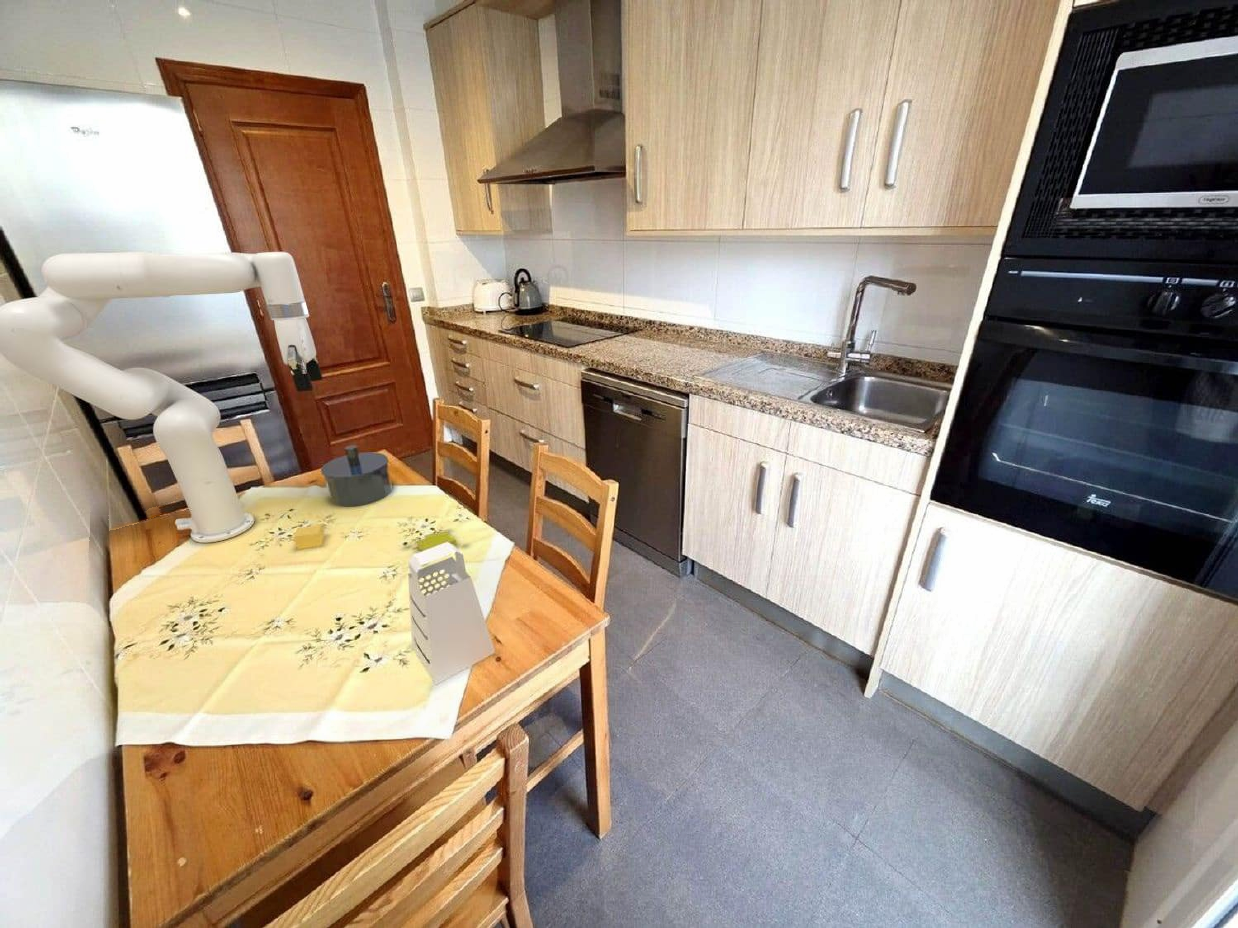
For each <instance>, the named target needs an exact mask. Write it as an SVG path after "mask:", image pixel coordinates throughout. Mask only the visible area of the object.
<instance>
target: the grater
mask: <svg viewBox="0 0 1238 928" xmlns="http://www.w3.org/2000/svg"><path fill="white" fill-rule="evenodd" d="M452 554H454V556H455V558H454V557H453V556H450V555H452ZM447 556H450V557H447ZM444 557H447V558H445V559H443V560H439V559H441V558H444ZM437 560H439V561H438V562H435V563H433V564H430V565H428V566H425V567H423V568H422V566H423V565H426V564H429V563H431V562H434V561H437ZM408 567H409V571H410V572H409V573H408V574H407V579H408V594H409V595H408V596H409V597H408V598H409V612H410V614H409V615H410V631H411V633H410V634H411V648H412V650H413V651H414V653H415V655H416V656H417V658H418V660H419V661H420V662H421V664H422V666H423V667H424V669H425V670H426V672H427V674H428V675H429V677H430V678H431V680H432V681H433V683H434V685H435V686H436V685H439V684H440V683H442V682H444V681H447V680H448V679H450V678H451V677H453V676H455V675H457V674H459V673H461V672H463V671H464V670H466V669H468V668H470V667H472V666H474V665H475V664H477V663H479V662H481V661H483V660H485V659H487V658H489V657H490V656H492V655H494V654H496V650H495V647H494V644H493V641H492V637H491V634H490V631H489V628H488V625H487V623H486V619H485V616H484V613H483V610H482V608H481V607H482V606H481V604H480V601H479V597H478V594H477V591H476V588H475V585H474V583H473V582H474V581H473V578H472V576H471V575H469V573H468V572H467V570H466V566H465V557H464V553H462V552H461V551H460V550H459V549H458V548H457V546H454V545H452V544H451V543H449V542H446V543H443V544H440V545H438V546H435V547H432V548H430V549H427V550H424V551H422V552H421V551H419V552H417V553H414V554H412V556H411V557H410V559H409V560H408ZM442 570H443V573H441V571H442ZM435 573H437V575H435V576H434V574H435ZM446 575H448V576H447V577H445V576H446ZM428 576H430V578H429V579H427V577H428ZM441 577H442V579H441V580H439V578H441ZM421 579H423V580H422V581H420V580H421ZM433 580H435V582H434V583H432V581H433ZM443 582H445V583H444V584H442V583H443ZM426 583H428V585H427V586H425V584H426ZM436 585H439V586H438V587H436ZM430 587H431V588H432V589H431V590H429V588H430ZM423 590H426V591H425V592H424V593H423V592H422V591H423ZM427 660H429V661H427Z"/></svg>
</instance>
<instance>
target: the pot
mask: <svg viewBox="0 0 1238 928" xmlns="http://www.w3.org/2000/svg"><path fill="white" fill-rule="evenodd" d="M389 468H390V467H389V465H388V463H387V464H386V466H384V467H383V468H382V469H380V470H378V471H376V472H373V473H371V474H368V475H364V476H360V477H355V478H348V479H333V478H327V477H325V476H323V478H324V482H325V486H326V488H327V493H328V496H329V500H331V503H332V504H334V505H335V506H338V507H345V508H347V507H348V508H350V507H351V508H352V507H361V506H365V505H369V504H372V503H376V502H379V501H380V500H382V499H384V498H386V497H387V496H388V495H390V493H391V492H392V491H393V483H392V478H391V474H390V469H389Z"/></svg>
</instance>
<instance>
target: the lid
mask: <svg viewBox="0 0 1238 928" xmlns="http://www.w3.org/2000/svg"><path fill="white" fill-rule="evenodd" d="M344 451H345V455H342V456H339V457H337V458H334V459H331V460H329V461H328V462H326V463H325V464H324V465H323V466H322V467H321V468H320V473H321V475H322V476H323V477H324V476H325V477H327V478H333V479H348V478H355V477H360V476H364V475H368V474H371V473H373V472H376V471H378V470H380V469H382V468H383V467H384V466H386V464H388V463H389V457H388V456H387V455H385V454H383V453H380V452H371V451H370V452H369V451H367V452H359V448H358V446H357V445H355V444H352V445H347V446H346V447H344Z"/></svg>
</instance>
